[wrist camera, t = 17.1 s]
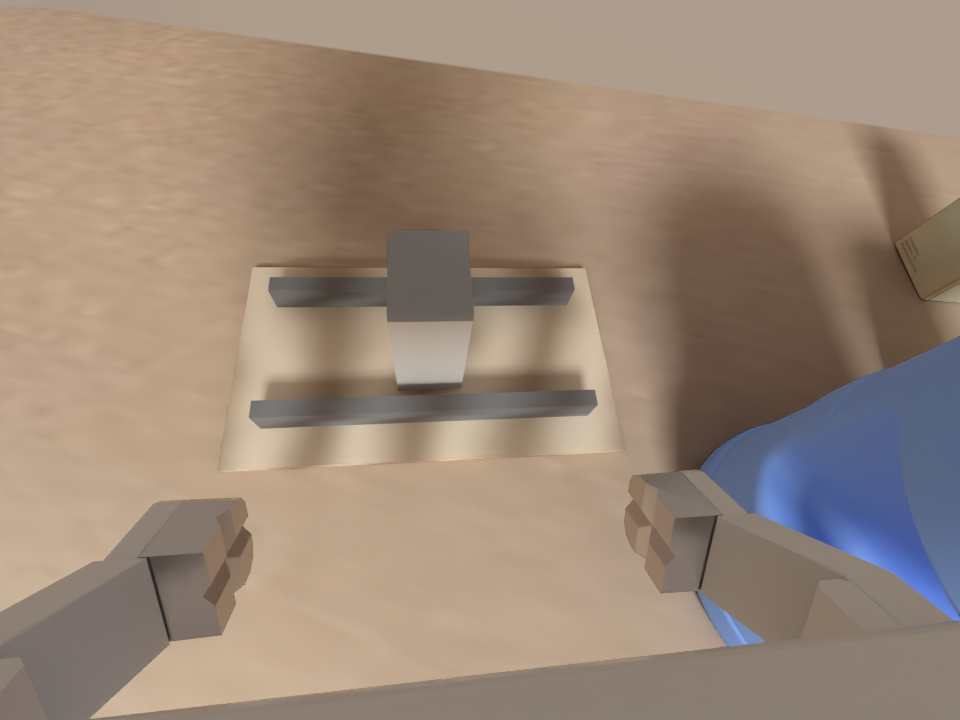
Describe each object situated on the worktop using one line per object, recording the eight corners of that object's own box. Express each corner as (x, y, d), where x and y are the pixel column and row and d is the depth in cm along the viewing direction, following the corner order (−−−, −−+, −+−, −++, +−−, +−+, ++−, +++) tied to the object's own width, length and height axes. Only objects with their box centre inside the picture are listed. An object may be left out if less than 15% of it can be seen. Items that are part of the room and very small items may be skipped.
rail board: (221, 471, 26) (201, 461, 24) (255, 272, 32) (242, 248, 30) (621, 451, 29) (637, 440, 27) (582, 273, 35) (594, 251, 33)
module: (397, 390, 29) (386, 315, 21) (397, 321, 31) (387, 230, 23) (461, 388, 29) (474, 314, 21) (456, 321, 31) (467, 231, 23)
